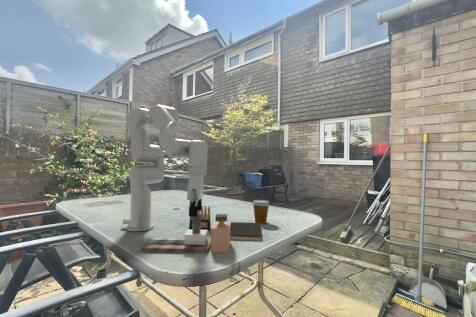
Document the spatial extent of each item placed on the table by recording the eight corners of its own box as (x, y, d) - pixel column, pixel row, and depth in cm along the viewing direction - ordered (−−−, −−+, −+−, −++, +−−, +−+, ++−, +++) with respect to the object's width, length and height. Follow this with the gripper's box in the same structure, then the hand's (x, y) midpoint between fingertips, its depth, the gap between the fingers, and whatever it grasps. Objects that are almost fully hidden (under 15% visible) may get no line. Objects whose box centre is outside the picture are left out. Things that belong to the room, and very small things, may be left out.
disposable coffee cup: (249, 220, 137) (249, 200, 138) (263, 219, 141) (263, 199, 142) (257, 225, 129) (257, 203, 129) (272, 223, 133) (272, 202, 133)
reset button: (215, 230, 93) (215, 216, 93) (216, 227, 98) (216, 214, 98) (226, 230, 93) (226, 216, 93) (227, 227, 97) (227, 214, 98)
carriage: (184, 245, 92) (184, 216, 92) (188, 239, 99) (188, 212, 99) (204, 245, 92) (205, 217, 92) (207, 239, 99) (207, 213, 99)
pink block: (210, 252, 90) (211, 228, 90) (213, 242, 100) (214, 221, 100) (229, 252, 90) (229, 228, 90) (230, 243, 100) (230, 221, 100)
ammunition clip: (188, 229, 119) (189, 205, 119) (189, 228, 120) (190, 205, 120) (210, 230, 118) (210, 206, 118) (210, 229, 120) (211, 205, 120)
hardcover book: (259, 227, 127) (259, 222, 127) (261, 241, 104) (261, 236, 104) (230, 226, 128) (230, 221, 128) (225, 240, 105) (225, 235, 105)
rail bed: (141, 251, 89) (141, 243, 89) (153, 240, 101) (153, 233, 101) (207, 253, 89) (207, 245, 89) (211, 242, 101) (211, 234, 101)
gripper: (192, 169, 104) (190, 208, 105) (182, 172, 87) (180, 218, 87) (209, 170, 104) (207, 208, 104) (203, 173, 87) (201, 219, 87)
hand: (195, 213), depth 96 cm, fingers open, 9 cm apart
